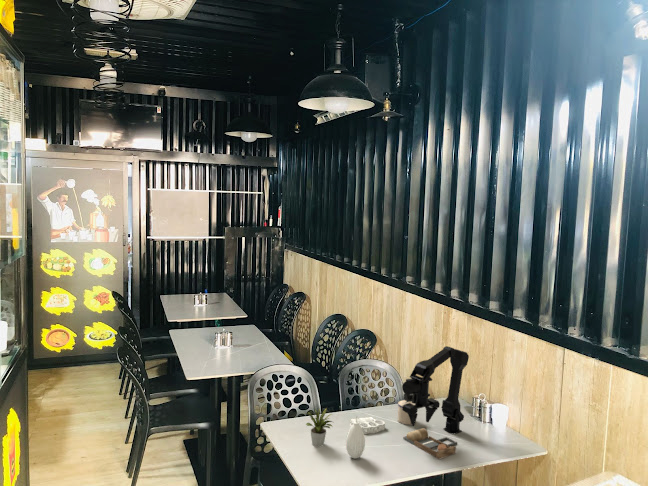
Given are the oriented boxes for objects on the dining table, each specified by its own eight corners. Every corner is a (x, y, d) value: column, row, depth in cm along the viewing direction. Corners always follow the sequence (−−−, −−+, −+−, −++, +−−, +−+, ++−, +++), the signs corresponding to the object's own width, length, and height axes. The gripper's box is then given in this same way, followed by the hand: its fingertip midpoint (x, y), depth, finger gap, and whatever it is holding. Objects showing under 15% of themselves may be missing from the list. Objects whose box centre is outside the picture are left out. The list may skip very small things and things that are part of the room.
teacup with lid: (418, 423, 257) (420, 400, 256) (403, 426, 253) (404, 402, 253) (405, 414, 268) (406, 392, 267) (390, 416, 264) (391, 394, 264)
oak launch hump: (420, 437, 243) (420, 426, 242) (427, 441, 238) (428, 430, 238) (406, 441, 237) (406, 430, 237) (413, 445, 233) (414, 434, 233)
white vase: (352, 451, 224) (354, 411, 223) (367, 457, 219) (369, 416, 218) (341, 457, 218) (343, 416, 217) (356, 464, 213) (358, 421, 212)
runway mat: (418, 434, 244) (418, 432, 244) (440, 446, 233) (441, 443, 232) (403, 439, 238) (403, 436, 238) (425, 451, 227) (425, 448, 227)
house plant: (305, 454, 219) (307, 416, 218) (295, 440, 232) (297, 405, 231) (336, 449, 225) (338, 413, 224) (324, 436, 238) (326, 402, 237)
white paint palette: (376, 421, 259) (389, 433, 245) (343, 424, 253) (354, 437, 239) (376, 414, 259) (389, 426, 245) (343, 417, 253) (354, 430, 239)
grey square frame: (446, 438, 241) (446, 437, 241) (457, 444, 235) (457, 442, 235) (436, 441, 237) (436, 440, 237) (447, 447, 232) (447, 445, 232)
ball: (442, 451, 228) (449, 453, 225) (436, 453, 226) (443, 455, 223) (441, 442, 229) (448, 443, 226) (435, 444, 226) (442, 445, 223)
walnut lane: (430, 440, 239) (430, 433, 238) (455, 453, 226) (455, 446, 226) (413, 445, 232) (413, 438, 232) (438, 459, 220) (438, 452, 220)
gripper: (423, 382, 247) (421, 414, 248) (395, 388, 236) (393, 421, 237) (441, 389, 238) (439, 422, 239) (412, 396, 227) (410, 430, 228)
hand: (420, 424), depth 236 cm, fingers open, 9 cm apart
